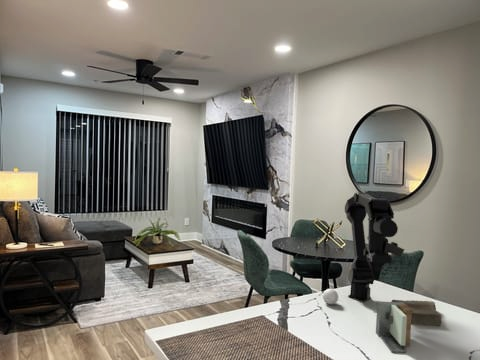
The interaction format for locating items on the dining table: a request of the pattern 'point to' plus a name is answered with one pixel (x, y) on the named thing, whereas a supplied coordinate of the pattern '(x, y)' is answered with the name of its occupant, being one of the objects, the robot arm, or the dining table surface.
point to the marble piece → (423, 312)
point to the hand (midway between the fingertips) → (376, 280)
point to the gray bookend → (387, 326)
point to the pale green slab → (398, 324)
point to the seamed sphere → (330, 296)
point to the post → (408, 313)
